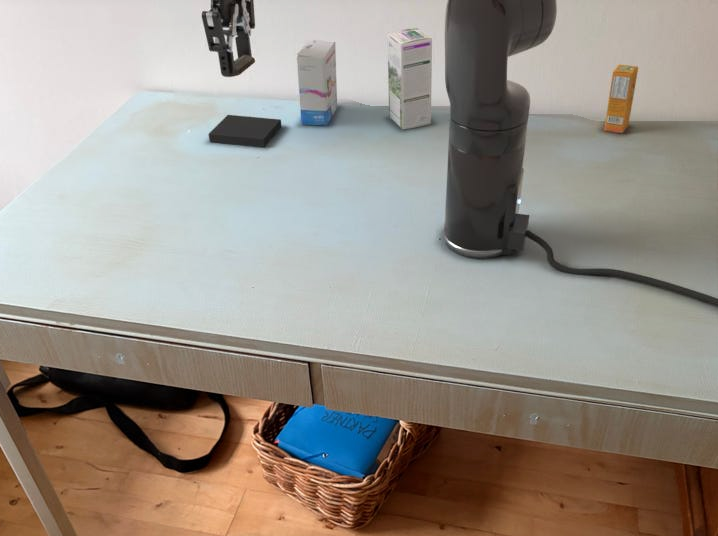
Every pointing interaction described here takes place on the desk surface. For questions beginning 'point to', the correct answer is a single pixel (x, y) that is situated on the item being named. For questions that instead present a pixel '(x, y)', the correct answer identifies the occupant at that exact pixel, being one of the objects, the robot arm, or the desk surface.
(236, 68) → the block
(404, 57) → the syrup box
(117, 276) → the desk surface
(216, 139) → the black pad
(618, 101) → the supplement box
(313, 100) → the ink box
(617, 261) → the desk surface
